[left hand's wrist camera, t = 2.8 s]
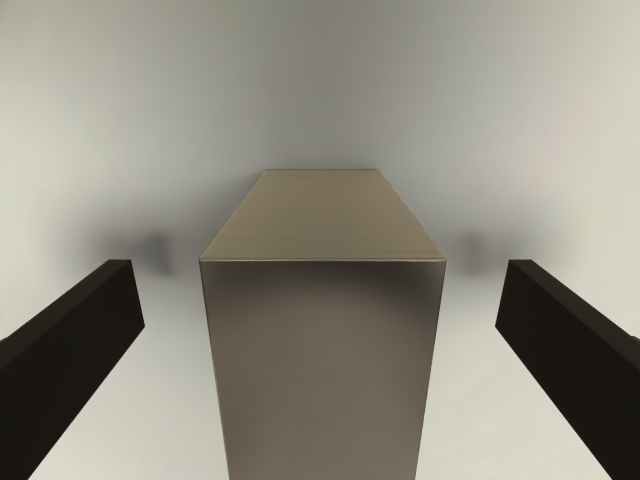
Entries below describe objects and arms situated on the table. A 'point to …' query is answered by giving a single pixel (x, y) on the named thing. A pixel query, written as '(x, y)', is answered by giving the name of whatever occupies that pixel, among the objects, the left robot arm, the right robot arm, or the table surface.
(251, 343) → the bar
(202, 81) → the table surface
